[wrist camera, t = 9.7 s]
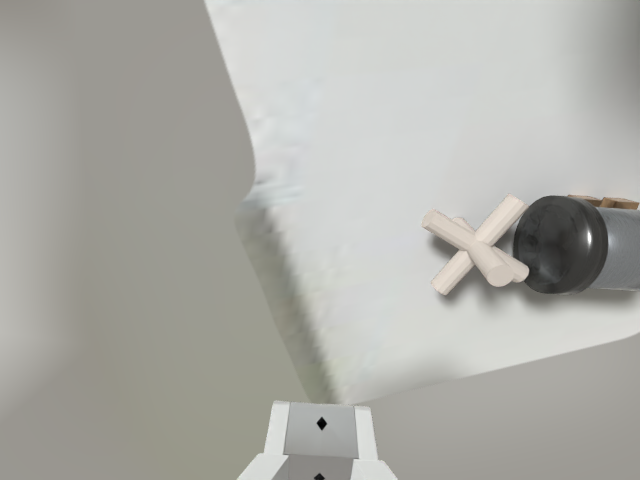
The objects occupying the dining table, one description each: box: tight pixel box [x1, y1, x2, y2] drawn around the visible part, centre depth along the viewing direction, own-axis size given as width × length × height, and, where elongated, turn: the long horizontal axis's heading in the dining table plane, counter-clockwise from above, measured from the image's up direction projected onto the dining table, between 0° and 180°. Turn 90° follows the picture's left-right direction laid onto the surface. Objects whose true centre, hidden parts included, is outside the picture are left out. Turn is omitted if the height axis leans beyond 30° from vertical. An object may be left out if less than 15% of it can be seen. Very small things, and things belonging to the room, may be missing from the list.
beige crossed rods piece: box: [421, 194, 530, 295], centre depth 27 cm, size 10×10×10 cm
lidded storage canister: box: [514, 195, 640, 295], centre depth 27 cm, size 10×8×9 cm
